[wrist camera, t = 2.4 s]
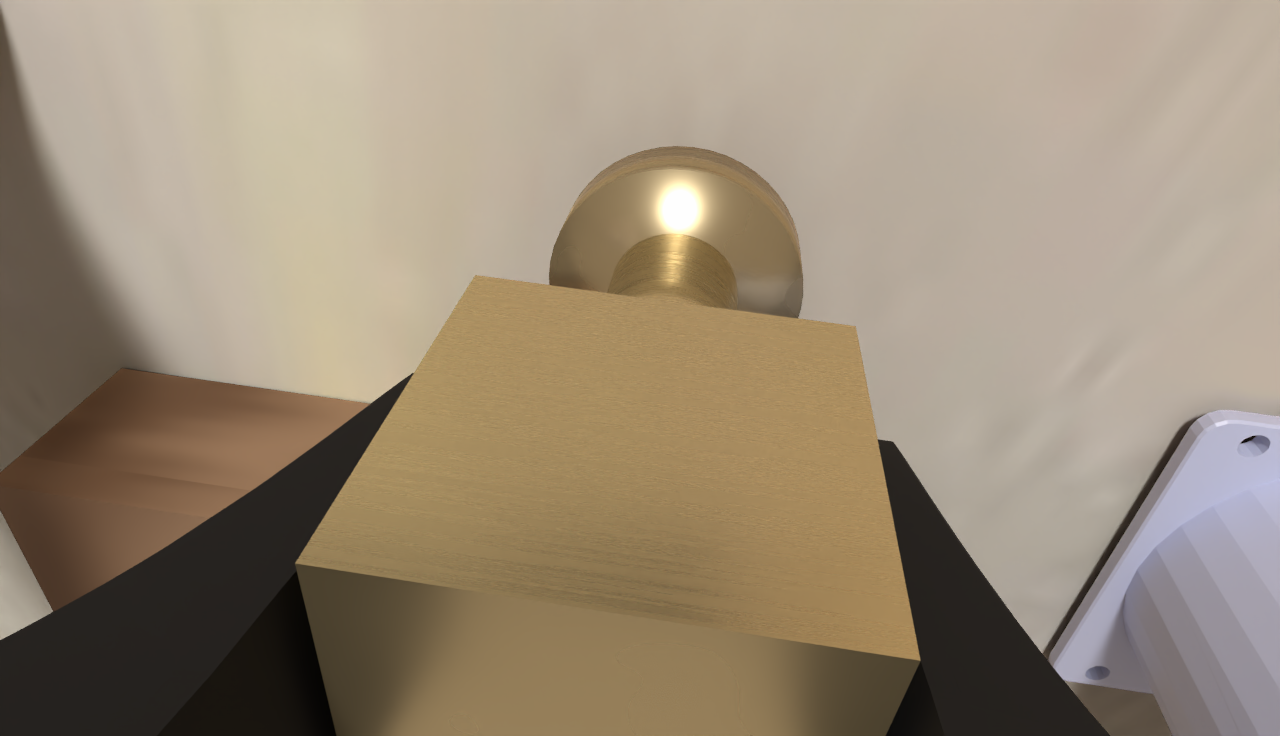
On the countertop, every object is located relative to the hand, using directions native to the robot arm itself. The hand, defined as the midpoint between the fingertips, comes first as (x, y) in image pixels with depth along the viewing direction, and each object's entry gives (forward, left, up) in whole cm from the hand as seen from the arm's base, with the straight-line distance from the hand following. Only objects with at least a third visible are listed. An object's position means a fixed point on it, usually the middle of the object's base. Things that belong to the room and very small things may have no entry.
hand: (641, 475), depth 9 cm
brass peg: (0, 0, -5) cm, 5 cm away
